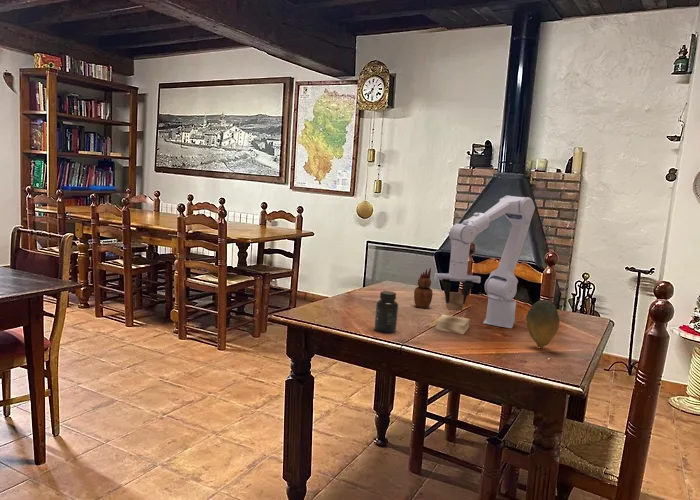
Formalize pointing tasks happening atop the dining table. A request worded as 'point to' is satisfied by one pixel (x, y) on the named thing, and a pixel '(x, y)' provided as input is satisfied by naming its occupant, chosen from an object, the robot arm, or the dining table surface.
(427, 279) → the wooden figurine
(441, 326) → the base block
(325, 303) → the dining table surface
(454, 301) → the walnut block
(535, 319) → the mango
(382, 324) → the supplement bottle
